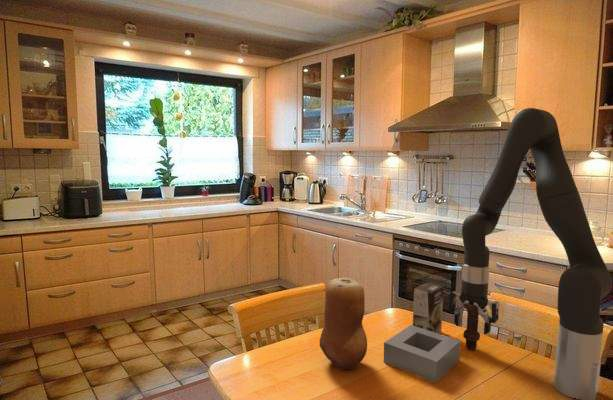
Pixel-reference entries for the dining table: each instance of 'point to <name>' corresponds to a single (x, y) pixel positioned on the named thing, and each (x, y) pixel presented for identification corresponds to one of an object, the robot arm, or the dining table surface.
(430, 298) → the coffee box
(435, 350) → the socket block
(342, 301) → the butternut squash
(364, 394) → the dining table surface
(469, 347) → the bolt
